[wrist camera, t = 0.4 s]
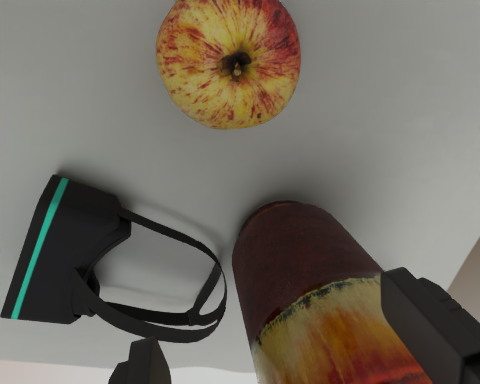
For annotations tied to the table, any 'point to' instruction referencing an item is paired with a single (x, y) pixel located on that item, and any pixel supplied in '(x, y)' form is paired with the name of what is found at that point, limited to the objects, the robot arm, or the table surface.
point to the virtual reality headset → (92, 266)
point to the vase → (314, 302)
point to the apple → (229, 60)
